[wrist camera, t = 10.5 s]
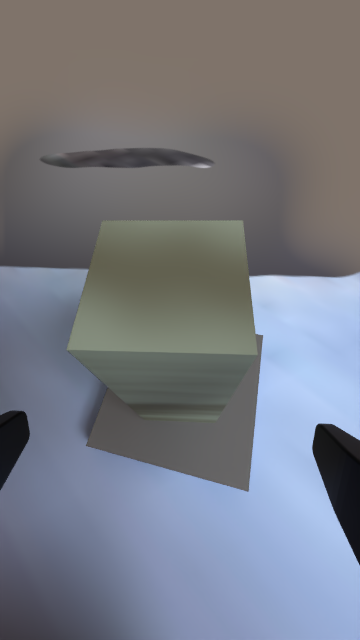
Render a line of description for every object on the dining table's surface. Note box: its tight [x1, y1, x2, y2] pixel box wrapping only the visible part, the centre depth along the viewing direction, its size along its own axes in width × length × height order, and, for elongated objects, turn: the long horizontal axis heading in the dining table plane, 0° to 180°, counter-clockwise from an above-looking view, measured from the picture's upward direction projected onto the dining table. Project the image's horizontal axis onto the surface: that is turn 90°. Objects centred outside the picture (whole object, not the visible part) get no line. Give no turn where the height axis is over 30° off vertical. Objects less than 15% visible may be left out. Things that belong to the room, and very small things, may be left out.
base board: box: [86, 334, 263, 491], centre depth 20 cm, size 11×11×2 cm
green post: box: [67, 221, 258, 423], centre depth 14 cm, size 5×5×13 cm
